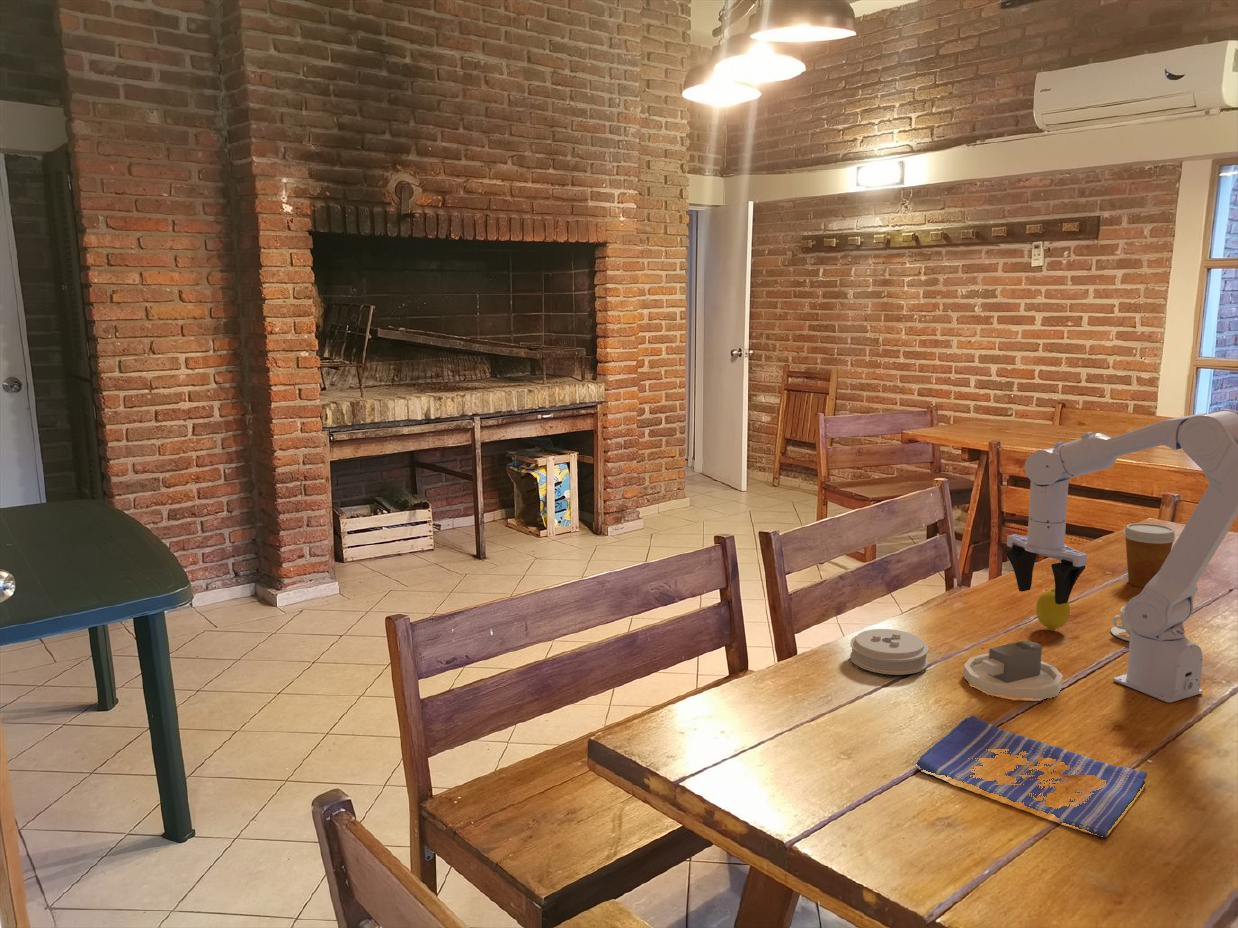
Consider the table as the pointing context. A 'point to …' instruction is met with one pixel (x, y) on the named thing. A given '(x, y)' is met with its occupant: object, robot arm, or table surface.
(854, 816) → the table surface
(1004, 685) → the plate
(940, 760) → the dish towel
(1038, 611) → the lemon
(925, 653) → the lid
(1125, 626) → the teacup
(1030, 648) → the connector
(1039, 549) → the robot arm
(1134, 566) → the disposable coffee cup
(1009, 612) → the table surface
